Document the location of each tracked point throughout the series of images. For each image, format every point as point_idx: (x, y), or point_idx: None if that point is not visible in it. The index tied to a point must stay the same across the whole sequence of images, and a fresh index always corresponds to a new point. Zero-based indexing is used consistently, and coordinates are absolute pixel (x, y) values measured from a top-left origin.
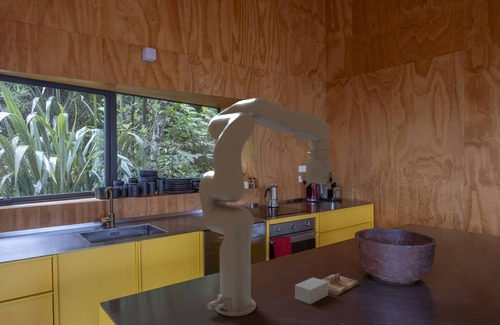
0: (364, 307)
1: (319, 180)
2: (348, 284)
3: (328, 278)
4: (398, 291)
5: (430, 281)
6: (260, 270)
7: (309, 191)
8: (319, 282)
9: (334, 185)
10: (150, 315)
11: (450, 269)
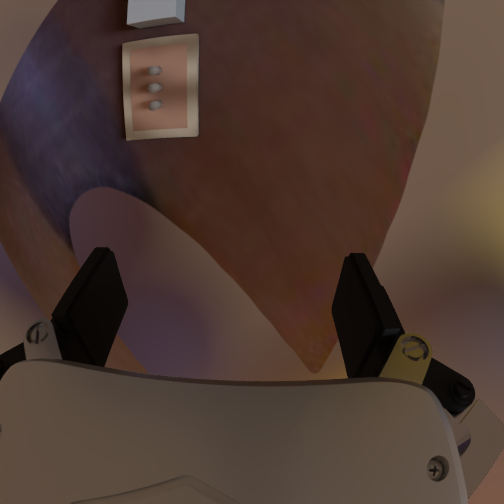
0: (63, 52)
1: (87, 415)
2: (126, 101)
3: (185, 95)
4: (64, 173)
5: (70, 261)
6: (391, 55)
7: (355, 315)
8: (140, 4)
9: (3, 355)
10: None
11: None
